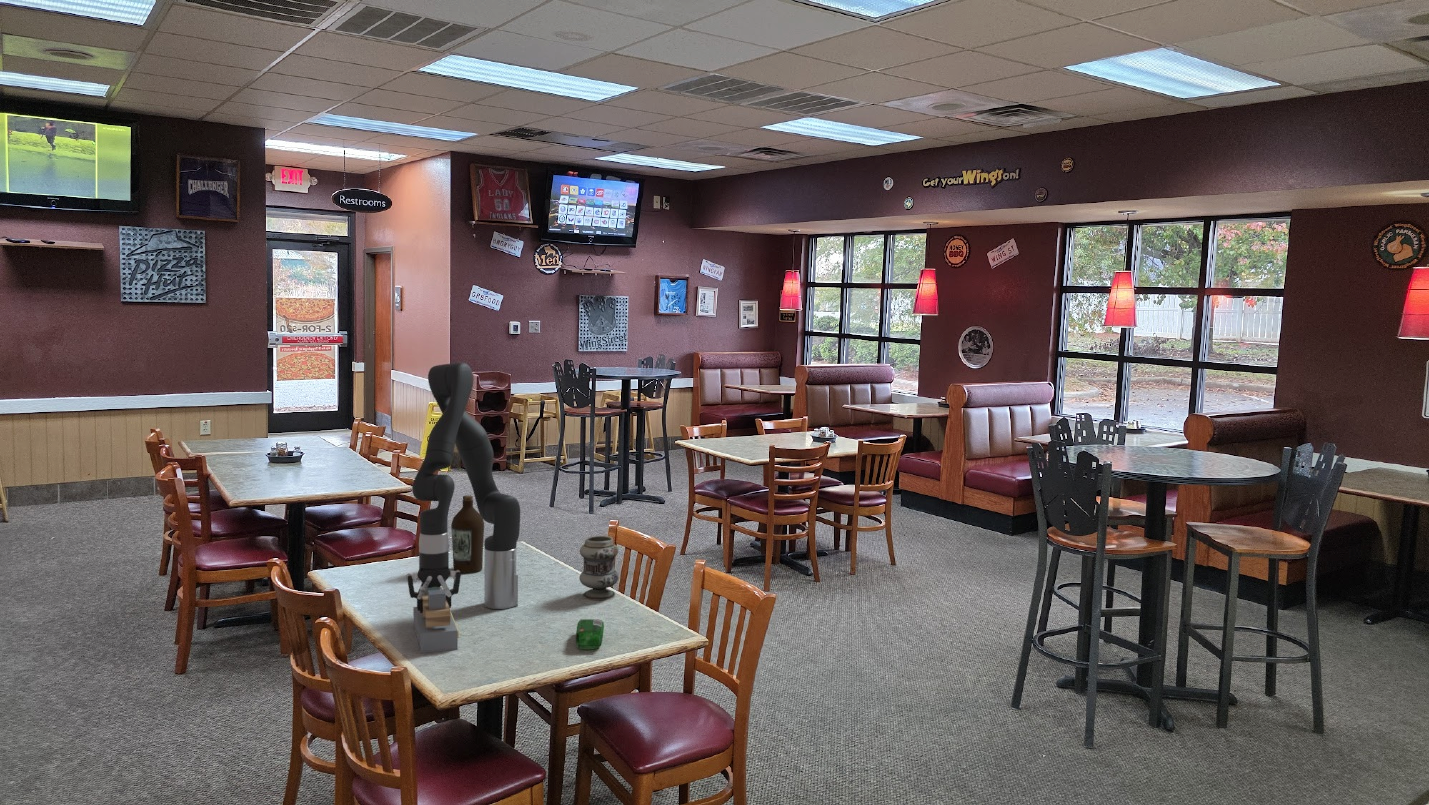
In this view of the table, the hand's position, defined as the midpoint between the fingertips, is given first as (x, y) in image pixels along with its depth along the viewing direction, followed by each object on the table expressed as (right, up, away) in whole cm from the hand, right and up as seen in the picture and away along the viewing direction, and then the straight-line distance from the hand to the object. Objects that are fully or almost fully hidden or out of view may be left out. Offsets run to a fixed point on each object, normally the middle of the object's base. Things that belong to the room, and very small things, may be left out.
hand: (434, 610), depth 254 cm
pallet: (0, -1, 0) cm, 1 cm away
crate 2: (+3, +2, -7) cm, 8 cm away
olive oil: (-8, -1, +65) cm, 66 cm away
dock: (0, -7, +1) cm, 7 cm away
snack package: (+41, -8, -1) cm, 42 cm away
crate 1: (-2, +4, +6) cm, 8 cm away
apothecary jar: (+39, -4, +40) cm, 56 cm away
